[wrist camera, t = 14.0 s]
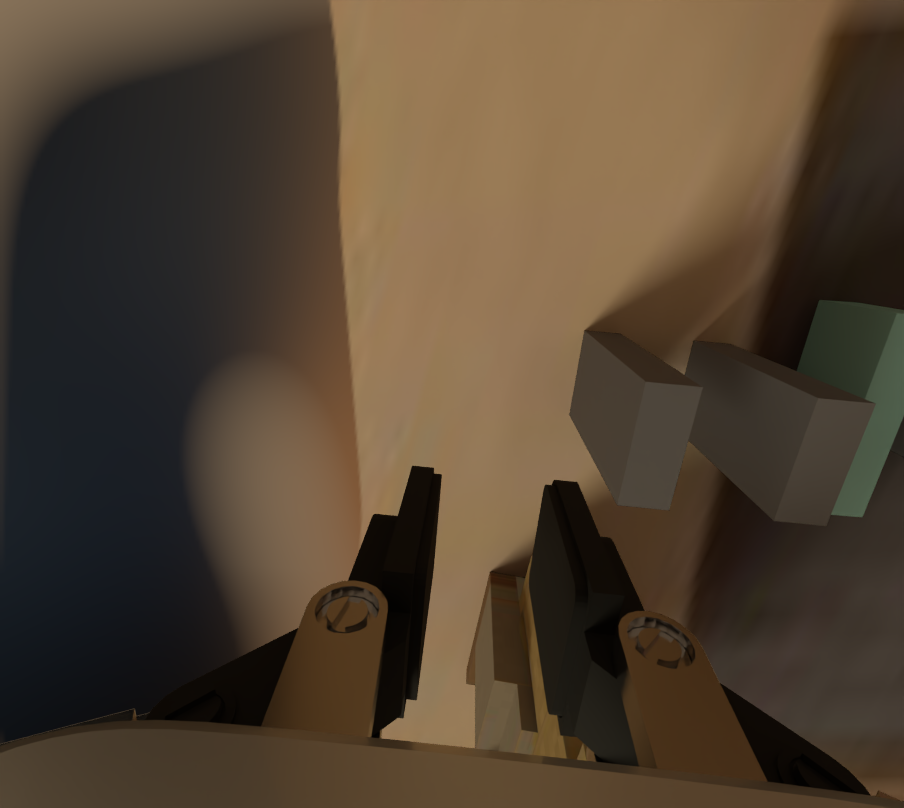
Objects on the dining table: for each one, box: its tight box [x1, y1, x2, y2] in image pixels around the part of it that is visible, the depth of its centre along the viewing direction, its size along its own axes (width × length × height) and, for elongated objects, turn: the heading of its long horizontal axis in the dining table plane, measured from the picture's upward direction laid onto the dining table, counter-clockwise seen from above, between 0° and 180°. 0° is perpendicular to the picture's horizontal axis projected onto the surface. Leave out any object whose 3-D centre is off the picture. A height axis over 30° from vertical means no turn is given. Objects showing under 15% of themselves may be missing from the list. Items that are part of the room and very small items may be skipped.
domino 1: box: [569, 331, 703, 510], centre depth 22 cm, size 5×2×10 cm, turn 175°
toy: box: [466, 555, 587, 761], centre depth 23 cm, size 6×17×20 cm, turn 171°
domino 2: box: [685, 341, 876, 526], centre depth 22 cm, size 5×2×10 cm, turn 175°
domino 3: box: [797, 300, 904, 517], centre depth 24 cm, size 5×2×10 cm
